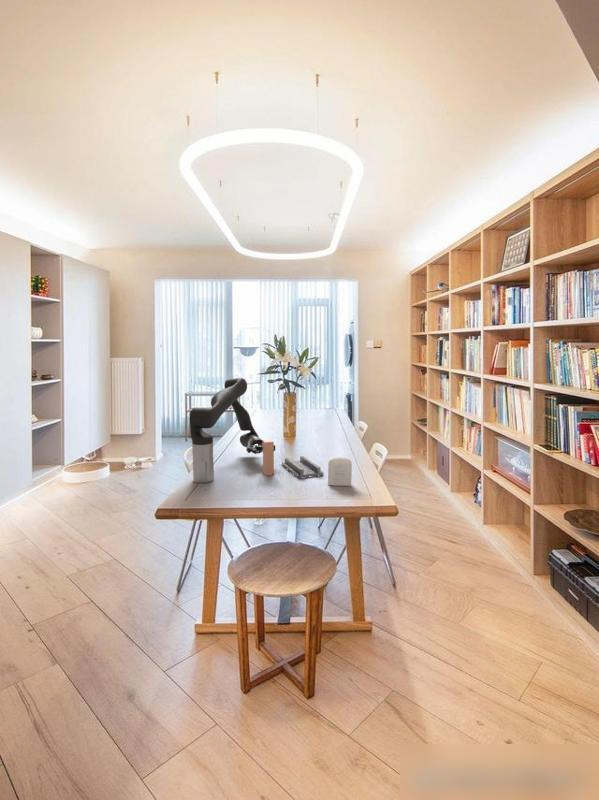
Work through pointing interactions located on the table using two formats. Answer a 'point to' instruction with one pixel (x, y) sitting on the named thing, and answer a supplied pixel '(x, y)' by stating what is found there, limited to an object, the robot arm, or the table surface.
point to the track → (302, 467)
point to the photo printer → (339, 471)
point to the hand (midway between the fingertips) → (264, 451)
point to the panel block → (268, 457)
